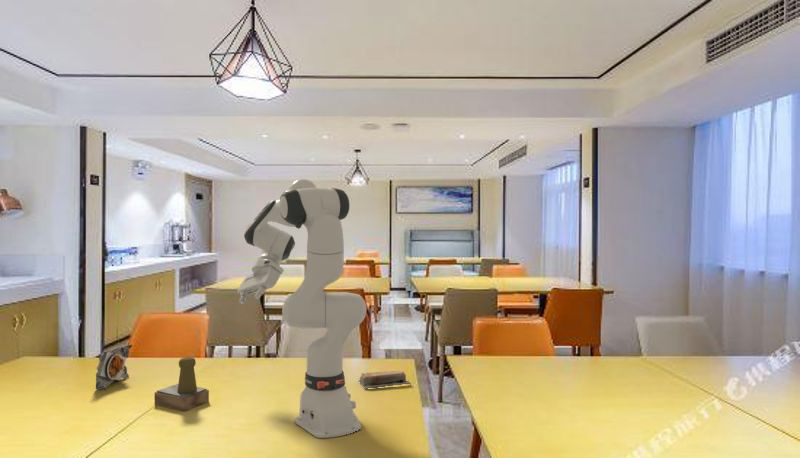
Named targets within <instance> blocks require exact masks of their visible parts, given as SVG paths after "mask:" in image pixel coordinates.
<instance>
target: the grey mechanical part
mask: <svg viewBox="0 0 800 458" xmlns="http://www.w3.org/2000/svg"><path fill="white" fill-rule="evenodd" d="M132 347H133V345H132V344H128V345H124V346H119V347H114V348H112V349H108V350H103V351H102V353H100V354H99V355H98V356H97V357H98V360H99V362H98V365H97V367H96V370H97V372H96V373H95V390H97V391H106V388H108V386H109V385H110V384H112V383H113V382H116V381H117V382H118V381H119V382H120V381H121V379H127V378H129V379H130V375H129V374H128V367H127V366H126V365H125V364H126V361H127V359H128V357H129V355H130V349H131V348H132Z"/></svg>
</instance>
